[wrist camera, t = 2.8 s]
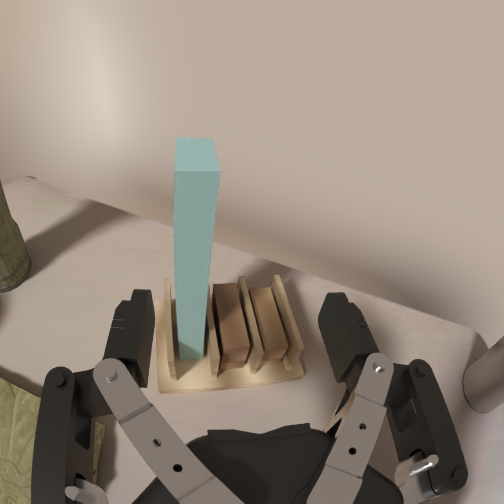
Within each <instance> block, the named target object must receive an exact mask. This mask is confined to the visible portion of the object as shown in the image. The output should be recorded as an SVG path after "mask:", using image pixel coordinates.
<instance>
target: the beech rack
mask: <svg viewBox="0 0 504 504" xmlns="http://www.w3.org/2000/svg"><path fill="white" fill-rule="evenodd" d="M270 289H271V292H272V295H273V298H274V301H275V304H276V308H277V311H278V314H279V317H280V320H281V324H282V327H283V330H284V333H285V336H286V340H287V343H288V346H289V347H288V348H287V350H286V352H285V354H284V356H283V357H282V359H281V361H280V363H277V364H269V365H262V366H259V365H260V362H261V360H262V358H263V356H264V352H263V348H262V344H261V340H260V336H259V332H258V328H257V324H256V320H255V317H254V313H253V309H252V305H251V301H250V297H249V293H248V289H247V285H246V281H245V277H244V276H239V280H238V285H237V290H238V295H239V299H240V304H241V308H242V313H243V317H244V322H245V326H246V330H247V335H248V339H249V343H250V348H249V351H248V354H247V357H246V360H245V363H244V366H243V368H235V369H224V370H220V366H219V361H220V356H219V350H218V344H217V338H216V331H215V325H214V318H213V312H212V305H211V303H212V298H210V291H209V284H208V294H207V306H206V319H205V333H204V348H203V359H193V360H180V354H179V342H178V329H177V314H176V299H171V288H170V279H165V299H156V349H157V371H158V387H159V393H184V392H200V391H213V390H224V389H233V388H242V387H250V386H258V385H265V384H272V383H278V382H284V381H290V380H296V379H301V378H303V377H304V375H305V374H304V371H303V368H302V365H301V362H300V359H299V357H300V355H301V354H302V352H303V350H304V349H305V348H304V345H303V342H302V339H301V336H300V333H299V330H298V328H297V325H296V322H295V319H294V316H293V313H292V310H291V307H290V304H289V302H288V299H287V296H286V293H285V290H284V287H283V284H282V282H281V279H280V276H279V275H274V277H273V280H272V283H271V286H270Z"/></svg>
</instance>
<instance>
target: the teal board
mask: <svg viewBox="0 0 504 504" xmlns="http://www.w3.org/2000/svg"><path fill="white" fill-rule="evenodd" d="M174 176H175V177H174V270H175V295H176V314H177V329H178V342H179V354H180V360H193V359H203V348H204V333H205V319H206V306H207V294H208V282H209V271H210V261H211V250H212V240H213V230H214V222H215V212H216V204H217V195H218V187H219V179H220V168H219V164H218V160H217V156H216V152H215V148H214V143H213V139H209V138H208V139H207V138H176V151H175V174H174Z"/></svg>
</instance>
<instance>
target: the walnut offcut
mask: <svg viewBox="0 0 504 504" xmlns="http://www.w3.org/2000/svg"><path fill="white" fill-rule="evenodd" d="M211 305H212V312H213V318H214V325H215V331H216V338H217V344H218V350H219V356H220V361H219V366H220V370H224V369H235V368H243V366H244V363H245V360H246V357H247V354H248V351H249V348H250V343H249V339H248V335H247V330H246V326H245V322H244V317H243V313H242V308H241V304H240V299H239V295H238V290H237V286H236V283H229V284H213V294H212V303H211Z"/></svg>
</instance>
